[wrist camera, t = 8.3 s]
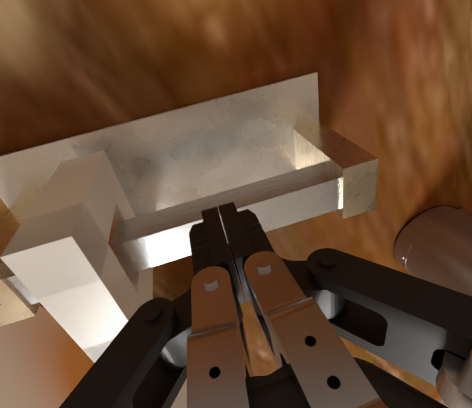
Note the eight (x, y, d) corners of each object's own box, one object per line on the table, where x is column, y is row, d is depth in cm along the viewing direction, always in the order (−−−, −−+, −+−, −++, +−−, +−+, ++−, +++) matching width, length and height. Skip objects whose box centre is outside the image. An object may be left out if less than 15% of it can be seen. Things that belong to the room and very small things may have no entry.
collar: (103, 150, 21) (71, 236, 13) (152, 252, 27) (152, 357, 18) (60, 161, 21) (-1, 257, 12) (119, 262, 26) (104, 373, 18)
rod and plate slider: (315, 71, 24) (383, 94, 17) (320, 196, 30) (370, 249, 23) (-24, 161, 21) (-111, 231, 14) (63, 274, 28) (33, 360, 21)
